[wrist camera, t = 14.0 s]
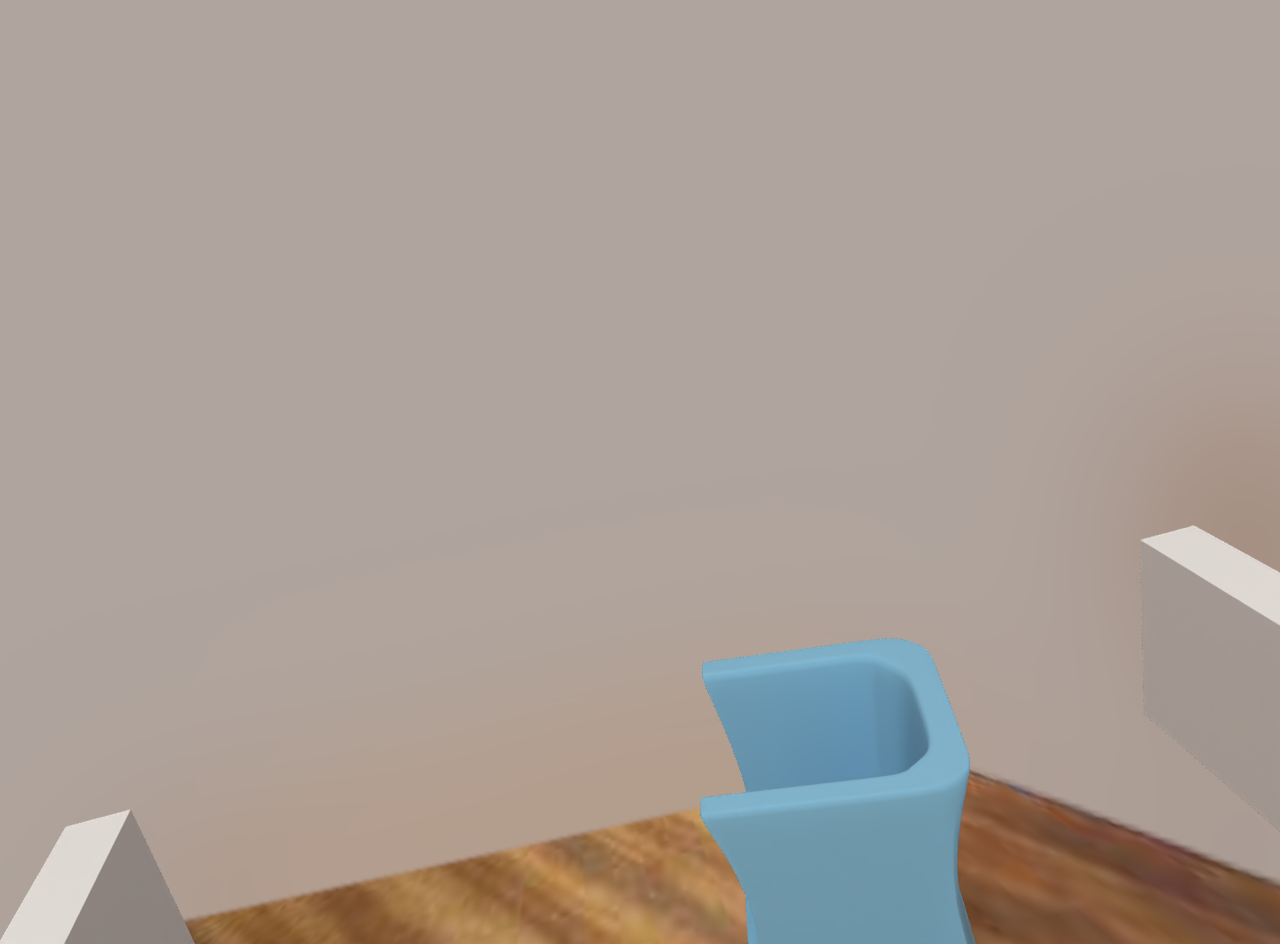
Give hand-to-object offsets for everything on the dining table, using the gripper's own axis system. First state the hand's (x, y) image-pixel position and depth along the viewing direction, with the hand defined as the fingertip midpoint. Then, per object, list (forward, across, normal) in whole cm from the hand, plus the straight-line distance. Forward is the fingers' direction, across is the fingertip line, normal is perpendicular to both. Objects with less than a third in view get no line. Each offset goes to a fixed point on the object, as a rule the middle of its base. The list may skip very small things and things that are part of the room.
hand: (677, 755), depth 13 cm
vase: (+15, +6, -31) cm, 35 cm away
